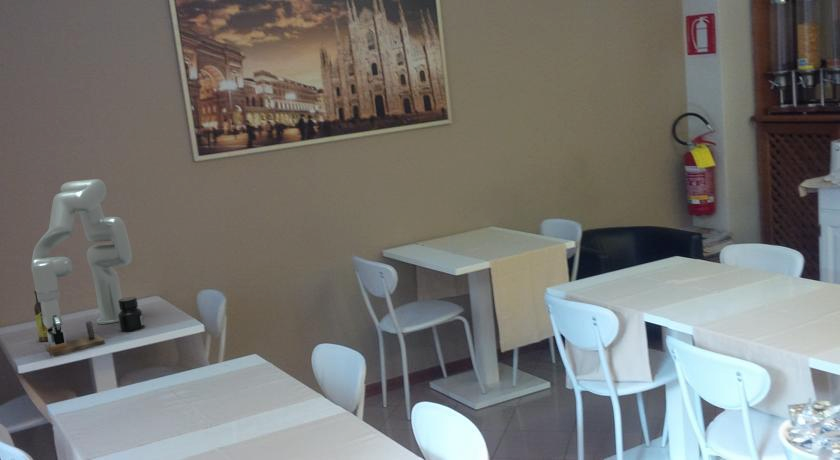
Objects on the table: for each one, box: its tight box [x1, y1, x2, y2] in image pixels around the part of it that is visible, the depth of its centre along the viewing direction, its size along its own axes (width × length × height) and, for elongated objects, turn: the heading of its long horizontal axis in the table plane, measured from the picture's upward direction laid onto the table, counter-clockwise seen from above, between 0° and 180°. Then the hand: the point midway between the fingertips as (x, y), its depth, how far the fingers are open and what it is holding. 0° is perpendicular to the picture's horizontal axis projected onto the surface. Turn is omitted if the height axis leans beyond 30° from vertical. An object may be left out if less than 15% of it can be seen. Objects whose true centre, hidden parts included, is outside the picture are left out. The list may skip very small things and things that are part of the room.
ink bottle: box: [118, 296, 145, 333], centre depth 351 cm, size 10×9×12 cm
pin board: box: [45, 320, 106, 357], centre depth 333 cm, size 18×12×8 cm, turn 123°
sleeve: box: [47, 329, 67, 350], centre depth 330 cm, size 5×5×6 cm
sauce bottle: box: [33, 289, 49, 342], centre depth 349 cm, size 6×6×20 cm
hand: (57, 341), depth 330 cm, fingers open, 9 cm apart
